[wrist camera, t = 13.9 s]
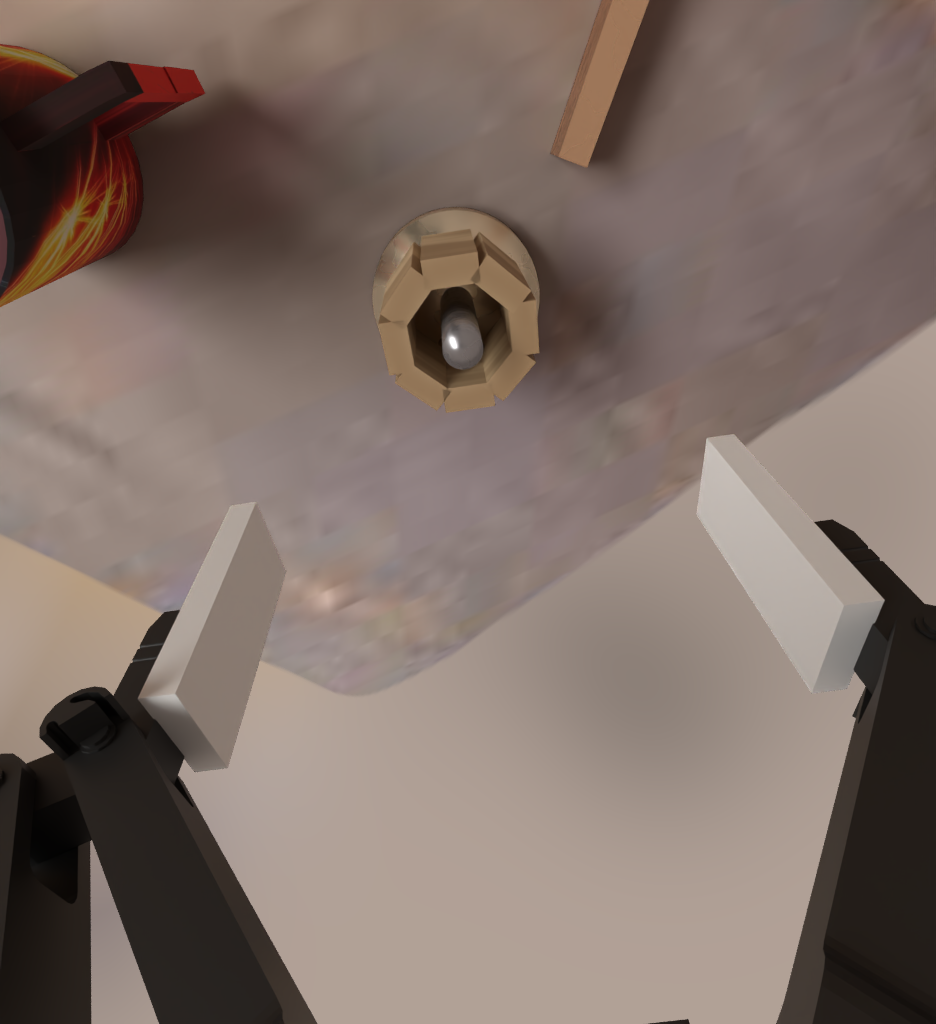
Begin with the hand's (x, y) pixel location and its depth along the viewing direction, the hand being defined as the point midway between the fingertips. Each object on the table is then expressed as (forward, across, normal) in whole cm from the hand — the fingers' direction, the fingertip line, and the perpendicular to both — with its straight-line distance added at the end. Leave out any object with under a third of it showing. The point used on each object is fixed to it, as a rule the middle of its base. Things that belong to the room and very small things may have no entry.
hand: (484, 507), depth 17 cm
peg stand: (+22, 0, 0) cm, 22 cm away
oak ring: (+21, 0, 0) cm, 21 cm away
